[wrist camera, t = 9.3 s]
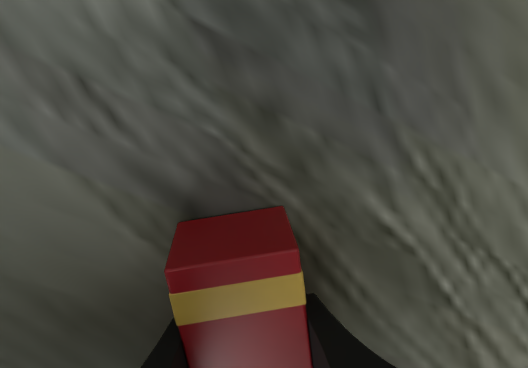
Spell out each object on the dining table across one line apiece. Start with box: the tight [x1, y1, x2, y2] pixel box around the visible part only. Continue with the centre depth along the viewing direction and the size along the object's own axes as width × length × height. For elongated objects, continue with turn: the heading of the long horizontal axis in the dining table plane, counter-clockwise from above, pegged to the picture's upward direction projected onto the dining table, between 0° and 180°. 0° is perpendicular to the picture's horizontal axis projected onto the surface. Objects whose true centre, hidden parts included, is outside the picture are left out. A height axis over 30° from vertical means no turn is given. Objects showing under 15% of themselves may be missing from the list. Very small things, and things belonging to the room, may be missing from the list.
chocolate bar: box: [164, 206, 313, 368], centre depth 14 cm, size 8×4×3 cm, turn 8°
